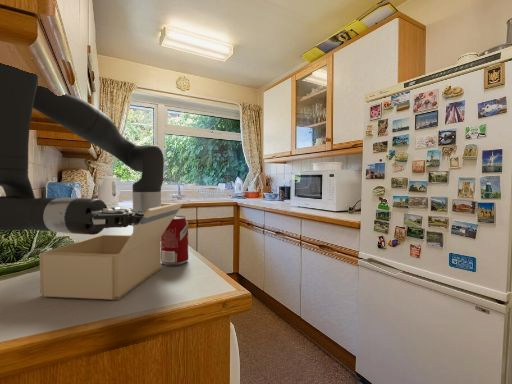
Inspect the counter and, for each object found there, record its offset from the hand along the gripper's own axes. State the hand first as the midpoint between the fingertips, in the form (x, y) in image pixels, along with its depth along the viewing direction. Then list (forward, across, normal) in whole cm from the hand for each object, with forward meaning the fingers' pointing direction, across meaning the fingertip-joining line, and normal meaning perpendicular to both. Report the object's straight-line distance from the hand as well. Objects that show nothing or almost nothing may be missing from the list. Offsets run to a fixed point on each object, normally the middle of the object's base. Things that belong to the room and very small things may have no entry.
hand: (155, 219), depth 56 cm
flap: (-3, 0, +5) cm, 6 cm away
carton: (-10, 0, +14) cm, 17 cm away
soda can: (-1, +14, +14) cm, 19 cm away
